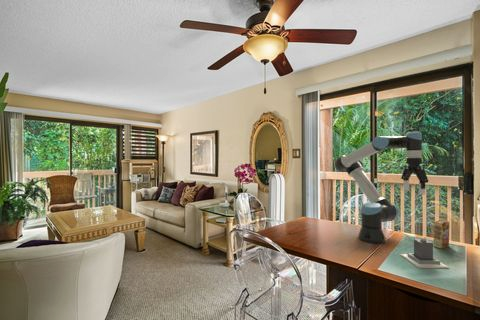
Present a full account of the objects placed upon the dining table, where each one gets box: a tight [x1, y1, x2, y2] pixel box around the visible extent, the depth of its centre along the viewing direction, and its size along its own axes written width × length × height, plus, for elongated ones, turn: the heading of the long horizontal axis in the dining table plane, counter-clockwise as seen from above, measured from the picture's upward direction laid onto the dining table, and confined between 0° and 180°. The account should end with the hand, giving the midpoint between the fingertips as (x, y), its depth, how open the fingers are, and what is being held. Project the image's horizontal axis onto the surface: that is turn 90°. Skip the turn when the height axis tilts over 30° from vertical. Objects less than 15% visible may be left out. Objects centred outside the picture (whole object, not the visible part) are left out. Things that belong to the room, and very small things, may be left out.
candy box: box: [433, 219, 451, 249], centre depth 138 cm, size 9×4×15 cm, turn 115°
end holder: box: [400, 252, 450, 269], centre depth 119 cm, size 14×14×2 cm
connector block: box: [413, 236, 434, 260], centre depth 119 cm, size 5×6×12 cm
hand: (413, 192), depth 139 cm, fingers open, 13 cm apart
